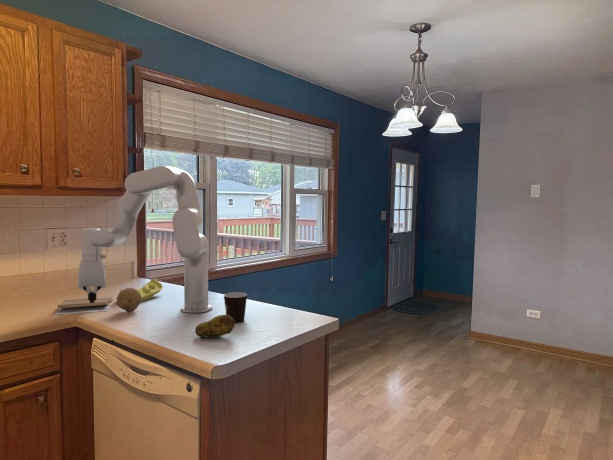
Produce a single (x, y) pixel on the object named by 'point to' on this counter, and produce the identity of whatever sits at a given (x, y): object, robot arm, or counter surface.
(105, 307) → the laid floor
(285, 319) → the counter surface
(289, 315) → the counter surface
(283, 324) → the counter surface
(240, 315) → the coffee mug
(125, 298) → the natural sponge
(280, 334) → the counter surface
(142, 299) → the plastic component
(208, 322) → the potato
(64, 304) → the plank
